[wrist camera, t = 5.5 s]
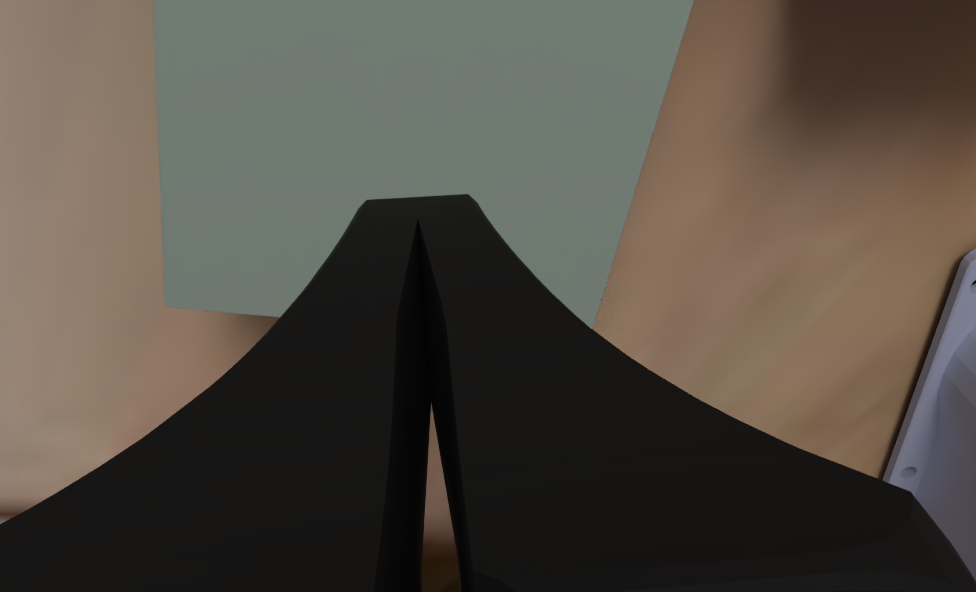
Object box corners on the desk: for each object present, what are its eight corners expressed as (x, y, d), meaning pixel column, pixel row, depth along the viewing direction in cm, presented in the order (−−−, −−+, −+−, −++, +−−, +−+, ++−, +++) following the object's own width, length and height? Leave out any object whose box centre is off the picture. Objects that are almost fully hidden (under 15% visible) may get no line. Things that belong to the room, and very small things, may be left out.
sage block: (548, 219, 21) (587, 343, 17) (212, 181, 19) (164, 307, 15) (638, -137, 16) (720, -86, 12) (212, -221, 15) (145, -195, 11)
